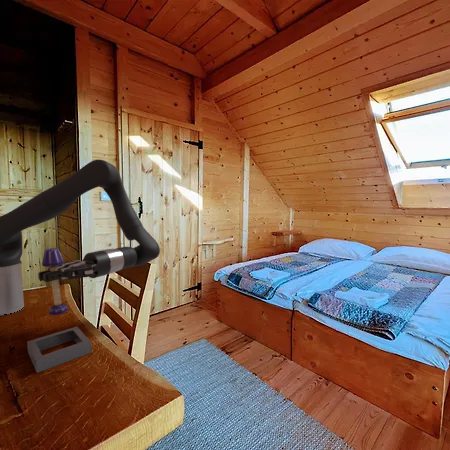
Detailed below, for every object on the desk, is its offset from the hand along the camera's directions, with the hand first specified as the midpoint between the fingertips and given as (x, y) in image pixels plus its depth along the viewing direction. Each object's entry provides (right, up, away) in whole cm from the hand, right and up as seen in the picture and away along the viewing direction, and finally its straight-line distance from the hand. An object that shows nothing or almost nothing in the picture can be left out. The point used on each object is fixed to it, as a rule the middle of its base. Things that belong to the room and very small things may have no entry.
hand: (42, 277), depth 67 cm
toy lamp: (+2, -10, +4) cm, 11 cm away
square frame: (+2, -21, +5) cm, 21 cm away
